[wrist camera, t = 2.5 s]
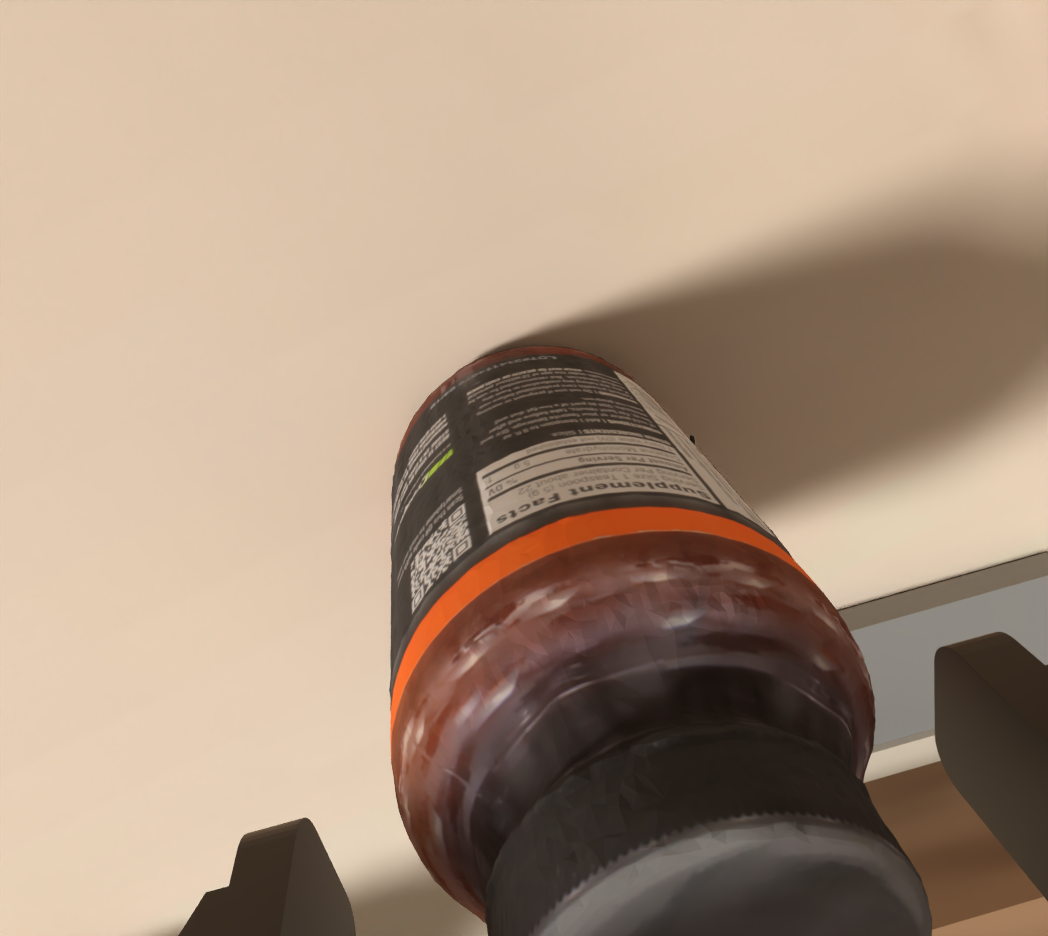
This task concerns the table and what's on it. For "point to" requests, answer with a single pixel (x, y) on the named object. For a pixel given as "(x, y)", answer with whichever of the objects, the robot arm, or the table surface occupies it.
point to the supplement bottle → (620, 678)
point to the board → (924, 626)
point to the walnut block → (957, 858)
